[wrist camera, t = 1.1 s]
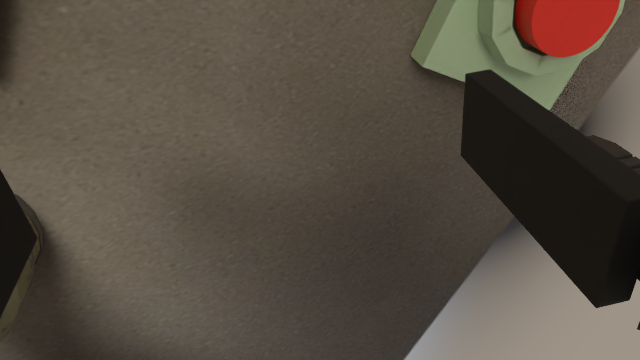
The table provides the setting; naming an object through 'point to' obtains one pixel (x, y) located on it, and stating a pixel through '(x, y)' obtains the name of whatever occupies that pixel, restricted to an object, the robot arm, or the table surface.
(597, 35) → the button
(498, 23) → the button block
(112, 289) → the table surface
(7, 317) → the thermos
